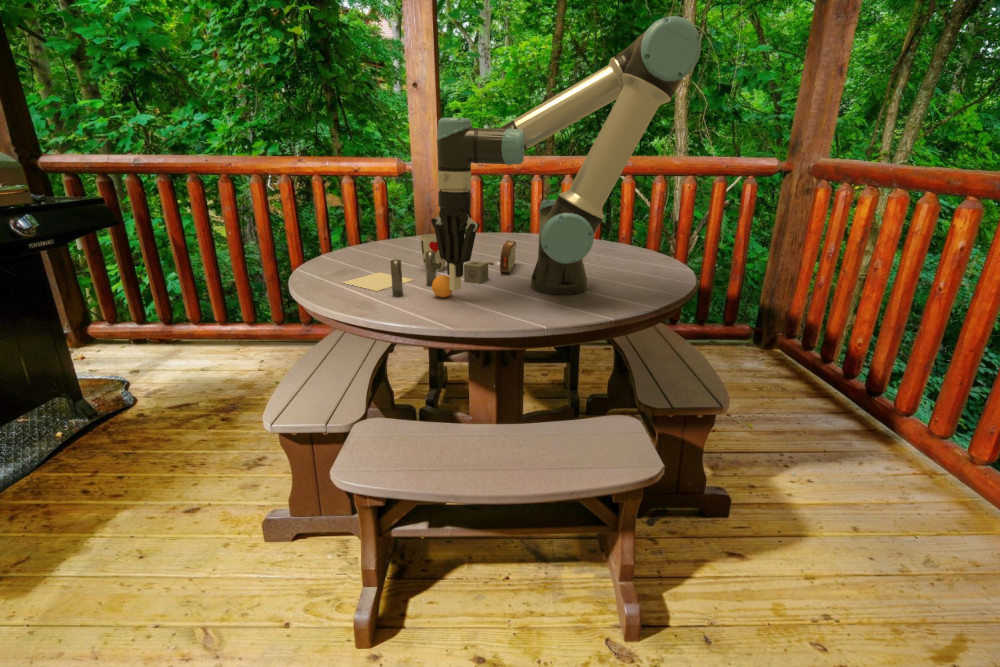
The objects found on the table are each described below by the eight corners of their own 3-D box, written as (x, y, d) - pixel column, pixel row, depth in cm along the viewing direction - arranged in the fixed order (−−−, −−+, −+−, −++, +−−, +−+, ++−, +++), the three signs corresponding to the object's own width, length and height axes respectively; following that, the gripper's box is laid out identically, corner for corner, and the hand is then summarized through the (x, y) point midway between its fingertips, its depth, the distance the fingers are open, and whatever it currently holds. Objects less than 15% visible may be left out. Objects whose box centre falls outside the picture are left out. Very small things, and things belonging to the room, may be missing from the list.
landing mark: (414, 280, 148) (414, 279, 147) (376, 291, 137) (376, 290, 137) (379, 272, 155) (379, 272, 155) (341, 283, 144) (341, 282, 144)
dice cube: (472, 278, 151) (472, 261, 149) (488, 280, 149) (488, 262, 147) (464, 282, 146) (464, 264, 145) (480, 284, 145) (480, 266, 143)
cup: (416, 271, 157) (415, 237, 154) (429, 265, 165) (427, 233, 161) (441, 273, 155) (440, 239, 151) (452, 267, 162) (452, 235, 158)
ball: (453, 270, 132) (437, 275, 135) (440, 276, 128) (424, 281, 131) (461, 291, 133) (445, 295, 136) (448, 297, 129) (432, 302, 132)
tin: (507, 264, 167) (507, 237, 164) (516, 264, 167) (517, 238, 164) (498, 275, 153) (499, 247, 150) (509, 276, 153) (509, 247, 150)
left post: (405, 295, 134) (403, 260, 131) (397, 297, 132) (395, 262, 129) (397, 293, 135) (395, 259, 132) (390, 295, 133) (388, 260, 130)
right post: (438, 284, 144) (437, 251, 140) (431, 286, 142) (430, 253, 138) (431, 283, 145) (429, 250, 142) (424, 285, 143) (423, 252, 140)
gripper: (422, 189, 122) (425, 287, 130) (467, 193, 115) (467, 297, 123) (443, 186, 127) (444, 281, 136) (487, 191, 121) (485, 290, 129)
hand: (455, 288), depth 130 cm, fingers closed
